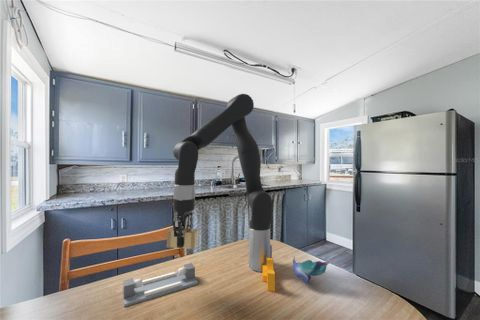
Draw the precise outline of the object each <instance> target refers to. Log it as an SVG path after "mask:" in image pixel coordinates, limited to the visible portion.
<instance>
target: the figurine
mask: <svg viewBox="0 0 480 320" xmlns="http://www.w3.org/2000/svg"><path fill="white" fill-rule="evenodd" d="M295 256H296V255H294V256H293V259H292V268H293V272H294V275H295V276H296V277H297V278H299V279H301V280H304V282H305V283H306V284H308V283H309V282H310V281H311V277H317V276H320V275H321V276H322V275H323V274H325V273H326V270H327V267H328V265H329V264H330V263H331V262H332V260H330V261H320V260H319V261H318V260H317V261H312V260H311V259H307V260H305V261H302V262H301V261H298V262H296V257H295Z"/></svg>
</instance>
